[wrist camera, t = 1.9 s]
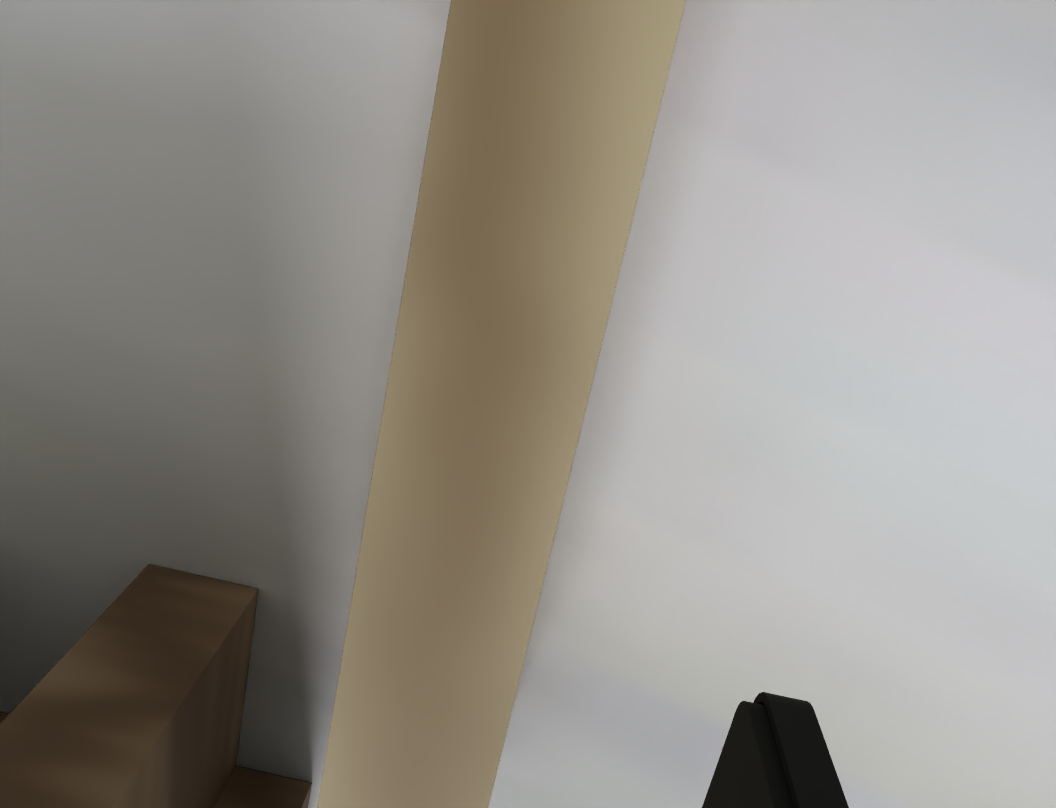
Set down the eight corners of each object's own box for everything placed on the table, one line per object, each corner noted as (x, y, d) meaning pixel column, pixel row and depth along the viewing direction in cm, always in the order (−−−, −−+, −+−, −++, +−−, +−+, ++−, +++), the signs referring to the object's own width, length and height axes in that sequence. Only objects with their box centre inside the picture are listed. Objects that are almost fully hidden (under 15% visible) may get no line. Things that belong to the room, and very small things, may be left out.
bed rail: (690, -93, 19) (725, -162, 14) (485, 764, 27) (453, 950, 21) (522, -130, 19) (486, -215, 14) (364, 737, 27) (299, 916, 21)
